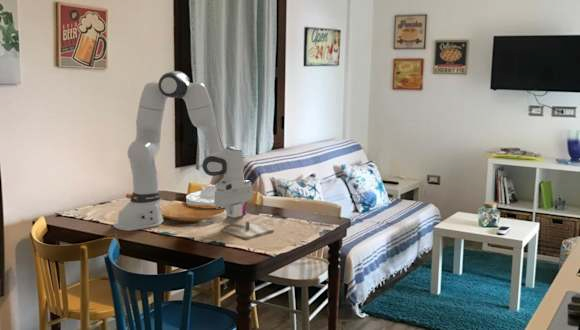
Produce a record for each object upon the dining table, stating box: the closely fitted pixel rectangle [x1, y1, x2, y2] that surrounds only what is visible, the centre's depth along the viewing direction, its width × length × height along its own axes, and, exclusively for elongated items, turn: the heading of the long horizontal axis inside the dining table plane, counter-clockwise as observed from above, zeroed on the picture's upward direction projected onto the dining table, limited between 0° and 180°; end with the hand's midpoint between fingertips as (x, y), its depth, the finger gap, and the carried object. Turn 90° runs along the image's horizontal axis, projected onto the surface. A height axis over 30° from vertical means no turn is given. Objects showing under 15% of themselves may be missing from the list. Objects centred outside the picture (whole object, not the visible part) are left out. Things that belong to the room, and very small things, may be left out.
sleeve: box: [226, 203, 243, 222], centre depth 283 cm, size 5×5×7 cm
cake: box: [185, 183, 225, 209], centre depth 324 cm, size 28×28×10 cm
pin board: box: [221, 221, 275, 240], centre depth 272 cm, size 16×16×4 cm
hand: (234, 212), depth 283 cm, fingers closed on sleeve, 5 cm apart
